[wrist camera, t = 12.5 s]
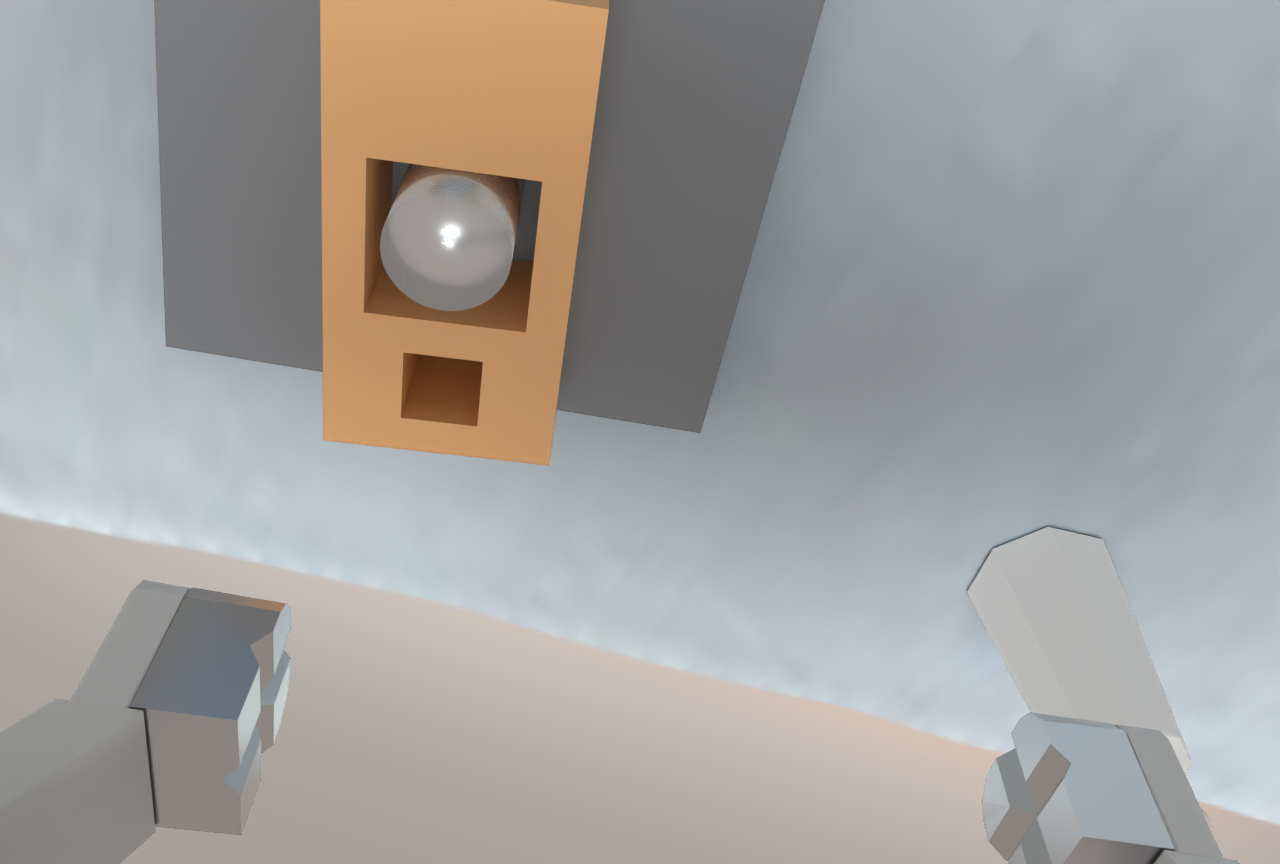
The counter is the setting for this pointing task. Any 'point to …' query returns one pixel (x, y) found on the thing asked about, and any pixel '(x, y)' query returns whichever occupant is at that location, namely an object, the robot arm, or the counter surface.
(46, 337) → the counter surface
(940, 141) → the counter surface
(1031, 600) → the pepper shaker
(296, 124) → the base plate
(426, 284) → the steel post
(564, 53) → the orange block with recesses
